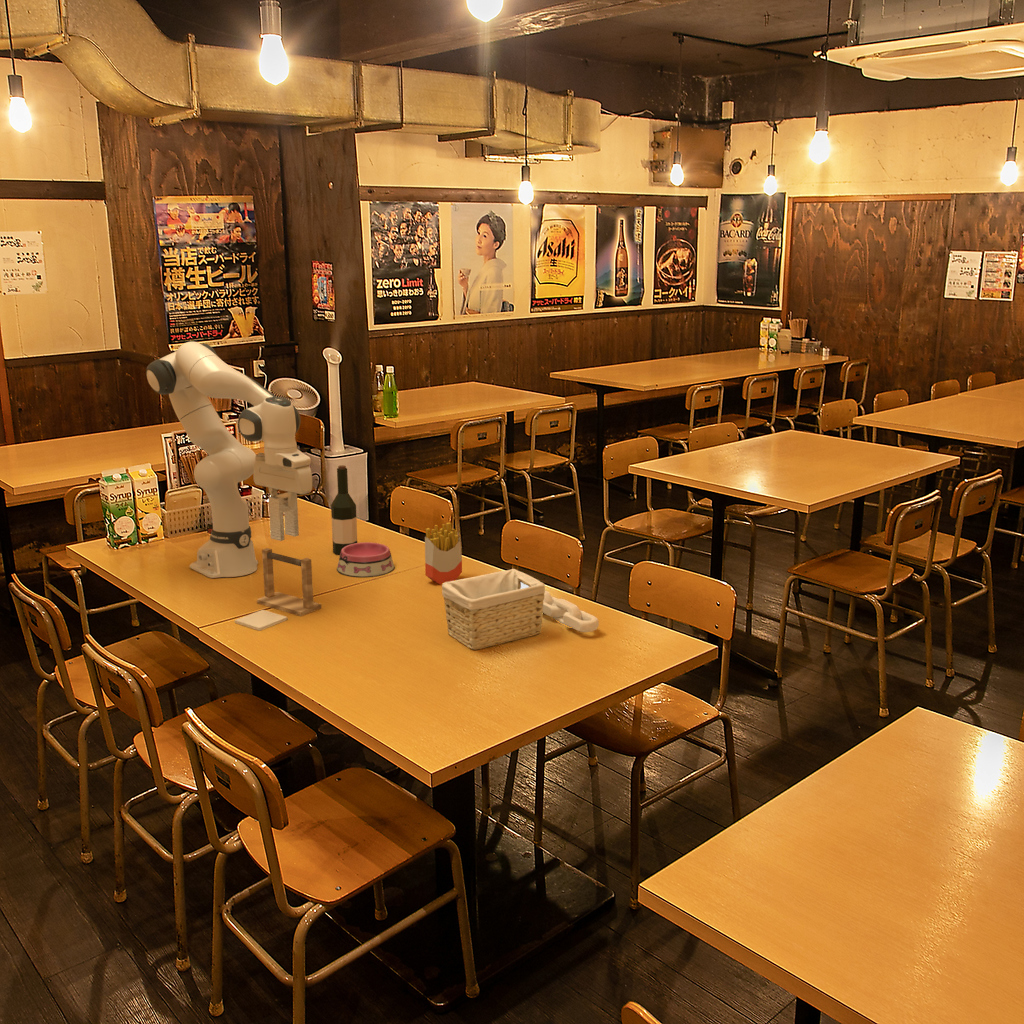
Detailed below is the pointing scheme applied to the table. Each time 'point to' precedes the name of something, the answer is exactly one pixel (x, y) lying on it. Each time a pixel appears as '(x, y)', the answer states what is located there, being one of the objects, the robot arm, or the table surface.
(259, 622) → the ceramic tile
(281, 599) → the rail stand
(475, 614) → the storage basket
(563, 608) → the chain
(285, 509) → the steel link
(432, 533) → the french fries container
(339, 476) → the wine bottle
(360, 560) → the dog bowl
